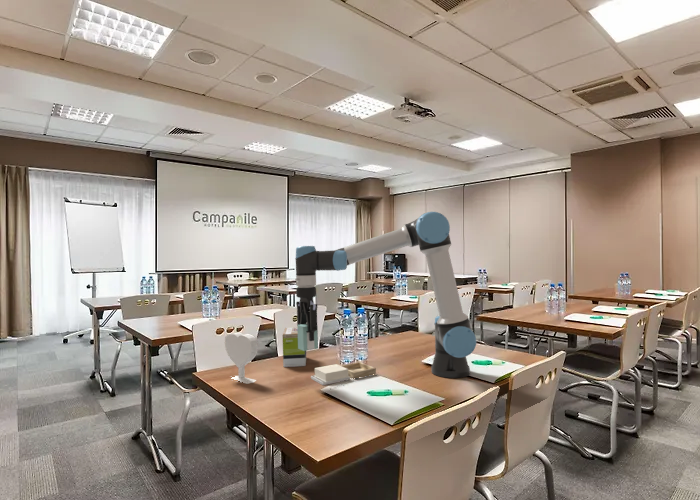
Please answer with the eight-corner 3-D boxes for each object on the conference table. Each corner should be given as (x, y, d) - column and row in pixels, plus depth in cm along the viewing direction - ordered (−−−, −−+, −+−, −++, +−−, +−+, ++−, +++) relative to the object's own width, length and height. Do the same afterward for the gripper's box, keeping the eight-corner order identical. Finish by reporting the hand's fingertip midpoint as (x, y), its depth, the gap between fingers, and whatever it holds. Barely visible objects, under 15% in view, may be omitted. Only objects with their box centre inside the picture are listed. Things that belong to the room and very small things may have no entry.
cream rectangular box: (350, 379, 156) (349, 369, 156) (322, 385, 150) (322, 374, 150) (337, 373, 165) (337, 363, 165) (310, 378, 159) (310, 368, 159)
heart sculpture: (260, 381, 157) (259, 334, 157) (250, 384, 153) (249, 337, 153) (233, 374, 166) (233, 331, 166) (223, 378, 161) (223, 333, 162)
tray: (375, 374, 162) (375, 368, 162) (353, 379, 156) (353, 372, 156) (360, 368, 172) (360, 362, 172) (338, 372, 166) (338, 366, 166)
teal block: (318, 348, 152) (317, 324, 152) (303, 351, 149) (303, 326, 149) (312, 346, 156) (311, 323, 156) (298, 348, 153) (297, 324, 153)
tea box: (285, 358, 190) (284, 327, 190) (306, 357, 191) (306, 326, 191) (282, 367, 175) (282, 333, 176) (305, 366, 176) (305, 332, 176)
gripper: (287, 285, 158) (288, 345, 158) (307, 288, 143) (309, 354, 143) (304, 284, 162) (306, 342, 162) (326, 287, 147) (327, 351, 147)
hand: (307, 347), depth 152 cm, fingers closed on teal block, 5 cm apart
